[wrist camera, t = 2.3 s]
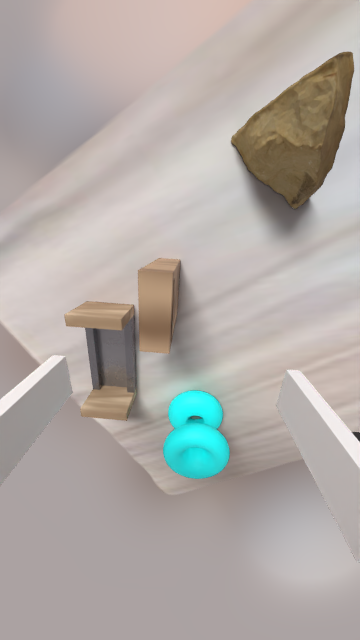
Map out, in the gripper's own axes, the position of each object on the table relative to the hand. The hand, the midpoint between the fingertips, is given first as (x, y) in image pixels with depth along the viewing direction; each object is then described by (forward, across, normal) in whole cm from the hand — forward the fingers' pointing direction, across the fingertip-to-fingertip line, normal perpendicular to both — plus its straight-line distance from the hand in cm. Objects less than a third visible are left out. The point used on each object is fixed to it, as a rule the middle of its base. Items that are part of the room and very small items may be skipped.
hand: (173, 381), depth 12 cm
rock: (+20, +10, +16) cm, 27 cm away
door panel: (+19, -2, +1) cm, 20 cm away
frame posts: (+20, -12, -10) cm, 25 cm away
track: (+20, -12, -10) cm, 25 cm away
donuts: (+20, +3, -22) cm, 29 cm away
